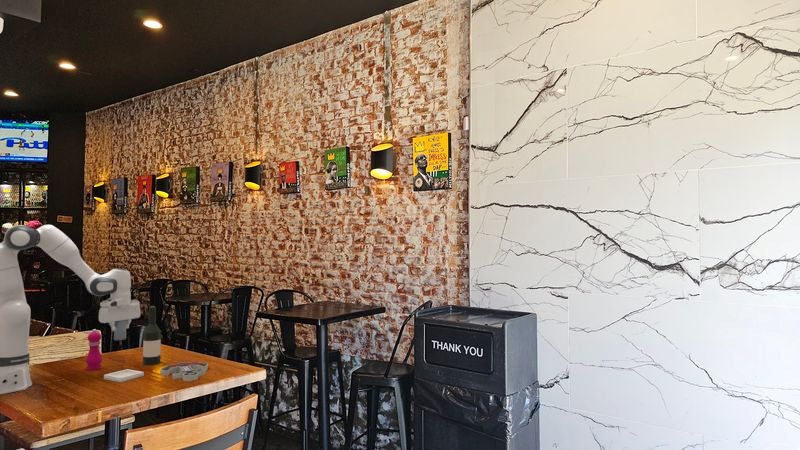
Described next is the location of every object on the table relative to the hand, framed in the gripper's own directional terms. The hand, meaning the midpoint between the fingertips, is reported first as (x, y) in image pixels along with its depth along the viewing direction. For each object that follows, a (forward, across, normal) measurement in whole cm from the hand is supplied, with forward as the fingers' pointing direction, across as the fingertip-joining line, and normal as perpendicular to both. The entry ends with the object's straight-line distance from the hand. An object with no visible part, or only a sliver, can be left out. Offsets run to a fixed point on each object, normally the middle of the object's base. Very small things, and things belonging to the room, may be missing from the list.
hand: (120, 329), depth 258 cm
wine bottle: (+21, -20, -3) cm, 30 cm away
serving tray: (+21, +5, +10) cm, 24 cm away
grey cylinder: (+5, 0, 0) cm, 5 cm away
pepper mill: (+21, 0, -19) cm, 29 cm away
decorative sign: (+22, -14, +30) cm, 40 cm away
